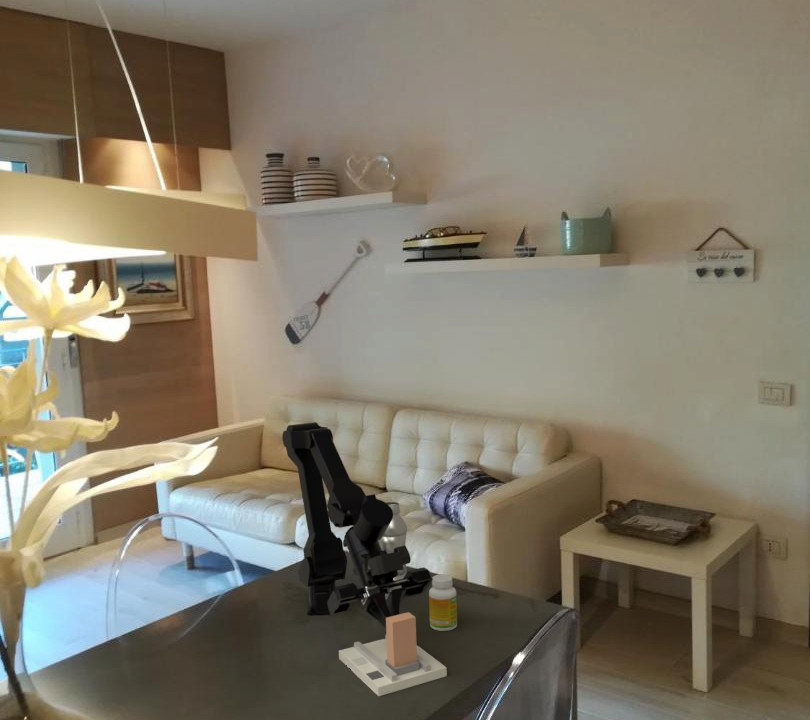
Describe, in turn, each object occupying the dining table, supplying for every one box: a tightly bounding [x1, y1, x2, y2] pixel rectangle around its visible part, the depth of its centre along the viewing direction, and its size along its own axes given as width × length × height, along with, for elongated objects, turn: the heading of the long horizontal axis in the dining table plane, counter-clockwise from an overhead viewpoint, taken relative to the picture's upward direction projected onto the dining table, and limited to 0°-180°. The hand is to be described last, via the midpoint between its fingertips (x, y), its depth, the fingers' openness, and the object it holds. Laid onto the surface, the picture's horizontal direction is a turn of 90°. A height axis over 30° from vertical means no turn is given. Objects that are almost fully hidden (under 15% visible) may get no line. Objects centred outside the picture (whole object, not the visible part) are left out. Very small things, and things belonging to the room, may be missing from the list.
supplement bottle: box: [428, 573, 458, 632], centre depth 158 cm, size 5×5×10 cm
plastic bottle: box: [379, 501, 408, 581], centre depth 175 cm, size 6×7×20 cm
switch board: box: [338, 634, 448, 697], centre depth 142 cm, size 16×13×2 cm
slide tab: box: [385, 611, 419, 676], centre depth 138 cm, size 4×4×9 cm
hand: (397, 635), depth 139 cm, fingers closed, pressing on slide tab
